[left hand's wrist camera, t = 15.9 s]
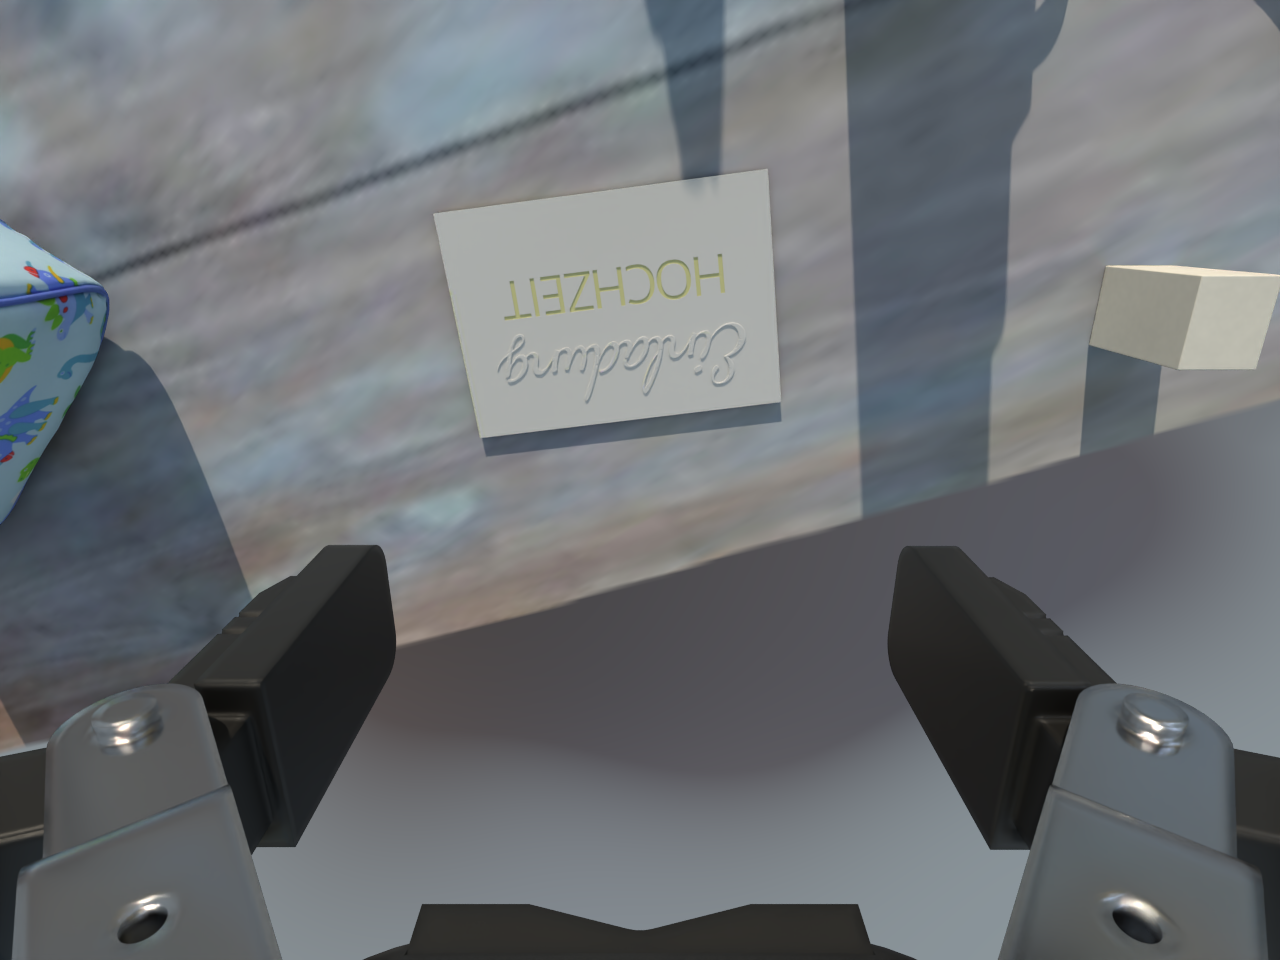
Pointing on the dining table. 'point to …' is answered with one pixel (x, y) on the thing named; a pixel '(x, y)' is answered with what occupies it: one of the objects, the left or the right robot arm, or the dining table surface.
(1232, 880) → the left robot arm
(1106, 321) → the block
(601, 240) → the invitation card
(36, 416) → the lunch box
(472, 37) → the dining table surface
